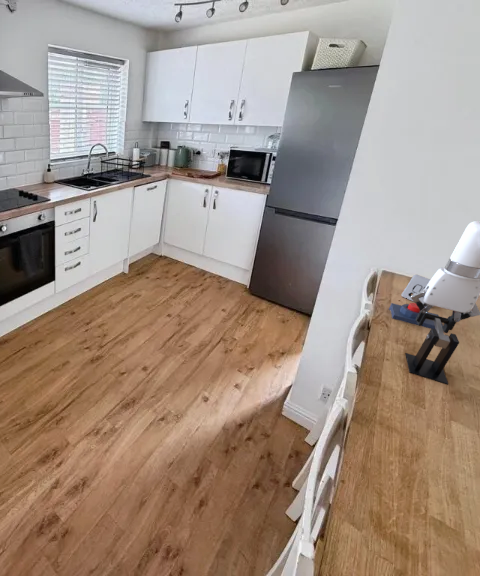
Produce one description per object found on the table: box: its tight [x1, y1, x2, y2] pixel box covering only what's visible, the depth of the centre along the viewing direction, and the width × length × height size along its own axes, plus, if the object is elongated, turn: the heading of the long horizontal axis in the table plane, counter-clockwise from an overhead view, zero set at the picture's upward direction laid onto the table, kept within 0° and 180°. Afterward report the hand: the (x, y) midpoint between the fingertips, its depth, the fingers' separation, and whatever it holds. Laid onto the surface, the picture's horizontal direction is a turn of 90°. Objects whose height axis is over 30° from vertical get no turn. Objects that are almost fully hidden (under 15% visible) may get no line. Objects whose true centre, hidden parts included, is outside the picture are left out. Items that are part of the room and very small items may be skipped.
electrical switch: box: [401, 274, 431, 303], centre depth 134 cm, size 9×5×9 cm, turn 28°
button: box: [407, 302, 420, 313], centre depth 122 cm, size 4×4×2 cm
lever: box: [426, 313, 450, 349], centre depth 99 cm, size 13×5×2 cm, turn 148°
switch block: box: [388, 302, 444, 330], centre depth 122 cm, size 13×10×4 cm
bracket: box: [404, 328, 460, 386], centre depth 97 cm, size 10×8×12 cm
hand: (431, 326), depth 104 cm, fingers closed on lever, 5 cm apart
